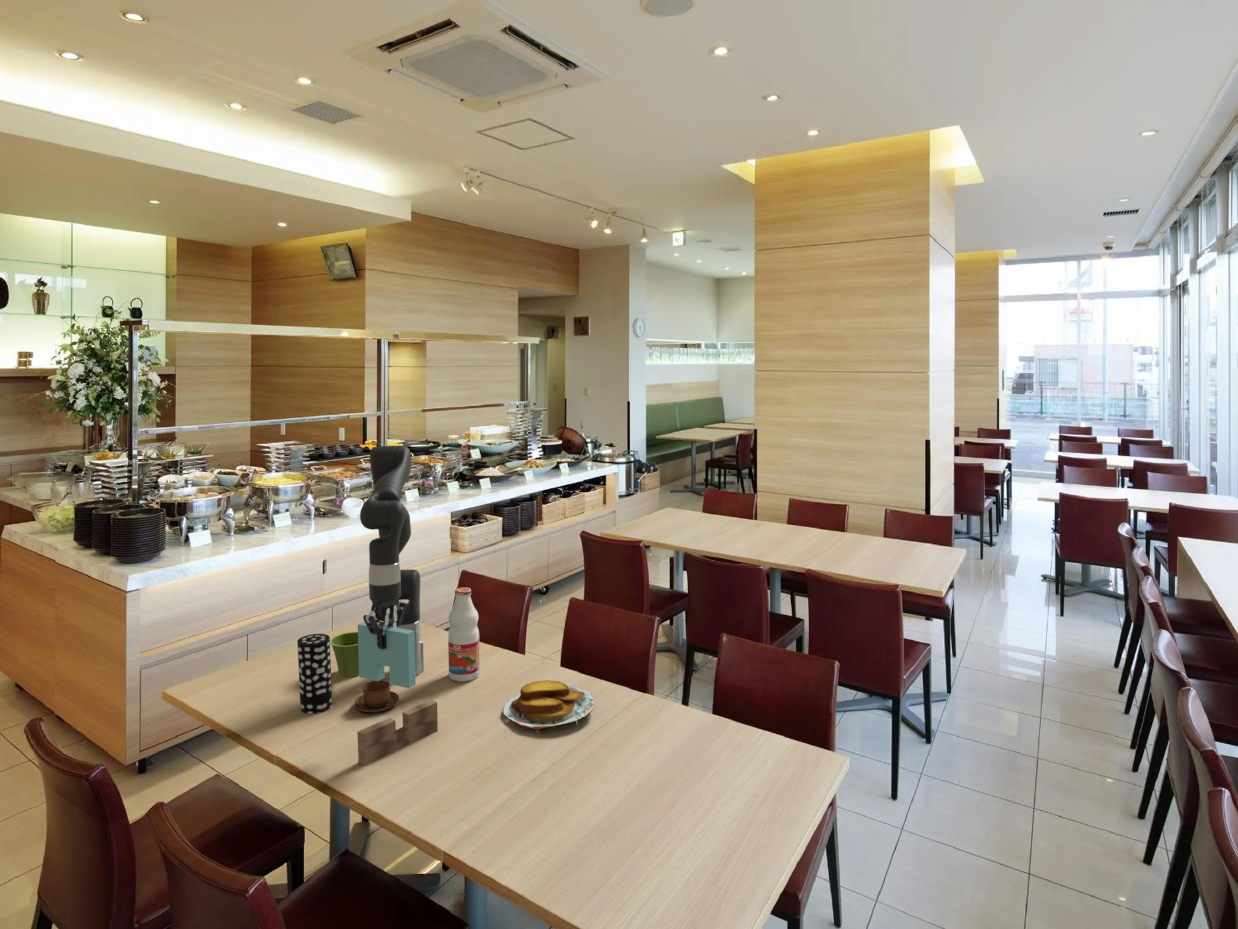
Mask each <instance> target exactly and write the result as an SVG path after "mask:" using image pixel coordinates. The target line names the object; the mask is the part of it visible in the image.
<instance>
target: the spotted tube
mask: <svg viewBox="0 0 1238 929" xmlns="http://www.w3.org/2000/svg"><path fill="white" fill-rule="evenodd" d="M330 640H331V638H330V635H329V634H325V633H312V634H307V635H304V636H301V637H299V639H297V640H296V641H297V658H298V659H297V660H298V661H297V663H298V664H297V665H298V680H299V681H298V682H299V683H298V684H299V701H300V703H299V707H300V712H301V713H304V714H308V715H312V714H320V713H324V712H326V711H328V710H329V709H331V708H332V707H333V688H332V687H333V686H332V685H333V684H332V683H333V682H332V666H331V665H332V661H331V644H330Z"/></svg>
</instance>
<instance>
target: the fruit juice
mask: <svg viewBox="0 0 1238 929" xmlns="http://www.w3.org/2000/svg"><path fill="white" fill-rule="evenodd" d="M454 595H455V599H454V603H453V606H452V608H451V610H450V611H449V613H448V618H447V619H448V624H449V629H448V635H447V637H448V638H447V639H448V640H447V643H448V648H447V649H448V677H449V678H450V680H451V681H454V682H458V683H464V682H470V681H473V680H475V679H477V678H478V677H479V675H480V631H479V627H478V621H479V613H478V611H477V609H476V607H475V606H474V604H473V600H472V598H471V595H472V589H471V587H458V588H456V589H455V590H454Z"/></svg>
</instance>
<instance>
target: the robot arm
mask: <svg viewBox="0 0 1238 929" xmlns="http://www.w3.org/2000/svg"><path fill="white" fill-rule="evenodd" d="M369 465H370V466H369V467H370V470H371V472H370V473H371V476H372V483H373V490H372V494H371V495H370V496H369V497H368V498H367V499H366V500H365V501H364V503H363V504H362V507H361V508H360V514H359V520H360V524H362V526H363V528H366V529H368V530H372V531H373V530H378V537H377V538H374V539H371V541H370V542H369V545H368V546H369V547H368V550H369V551H368V554H369V555H368V556H369V566H368V590H369V591H368V593H369V594H368V595H369V600H370V601H371V602H372V604H371V608H370V612H369V613H368V614H364V615H363V617H362V619H363V622H365V623H366V625H367V628H368V630H369V632H370V634H375V635H377V647H378V648H379V649H383V650H384V649H386V648H387V646H386V635H385V634H386V626H391V627H396V628H402V629H407V630H412V631H415V677H416V676H418V675H420V673H421V672H422V671H424V670H425V667H424V666H425V664H424V662H425V661H424V659H425V658H424V642H423V641H422V640H421V611H420V610H421V609H420V608H421V605H420V604H421V601H420V596H421V577H420V576H421V575H420V572H419V571H418V570H417V569H401V567H400V555H401V552H402V551H403V550H404V548H406V546H407V544H408V542H409V540H410V538H411V536H412V526H411V516H410V513H409V511H408V509H407V508H406V506H405V505H404V504H403V502H402V501H401V498H402V492H403V488H404V486H405V484H406V483H407V481H408V479H409V476H410V474H411V471H412V456H411V451H410V449H409V448H408V447H407V446H406V445H405V446H404V445H383V446H382V445H380V446H378V445H377V446H373V447H372V448H371V450H370V453H369ZM401 600H402V601H403V600H404V601H405V600H408V602H402V601H401ZM380 626H381V627H382V630H380Z"/></svg>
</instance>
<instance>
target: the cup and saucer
mask: <svg viewBox="0 0 1238 929" xmlns="http://www.w3.org/2000/svg"><path fill="white" fill-rule="evenodd" d="M399 699H400V696H399V694H398V693H396V692H395V691H391V684H390V681H388V680H383V679H382V680H380V681H374V680H370V681H368V682H367V683H365V684H363V686H362V695H359V696H357V698H356V699H355V700H354V707H356V709H358V710H359V711H361V712H364V713H378V712H384V711H386V710H390V709H391V708H392V707H394V706H395V705H396V704H397V703H398V702H399Z"/></svg>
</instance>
